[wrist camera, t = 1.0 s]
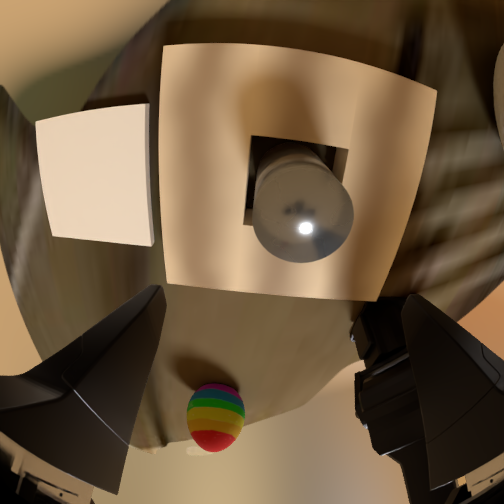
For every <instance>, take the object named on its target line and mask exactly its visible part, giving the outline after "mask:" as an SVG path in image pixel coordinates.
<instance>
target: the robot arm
mask: <svg viewBox="0 0 504 504" xmlns="http://www.w3.org/2000/svg"><path fill="white" fill-rule="evenodd" d="M166 307H167V304H166V299H165V294H164V289H163V287H162V286H161V285H155V284H151V285H149V286H148V287H146V288H145V289H144V290H142V291H141V292H139V293H138V294H137V295H135V296H134V297H132V298H131V299H130V300H128V301H127V302H125V303H124V304H123V305H121V306H120V307H119V308H117V309H116V310H114V311H113V312H112V313H110V314H109V315H108V316H106V317H105V318H104V319H102V320H101V321H99V322H98V323H97V324H95V325H94V326H93V327H91V328H90V329H89V330H87V331H86V332H85V333H83V334H82V336H79V337H78V338H77V339H75V340H74V341H73V342H71V343H70V344H69V345H67V346H66V347H64V348H63V349H62V350H60V351H59V352H57V353H56V354H54V355H53V356H51V357H49V358H48V359H46V360H45V361H43V362H42V363H40V364H39V365H37V366H35V367H34V368H32V369H31V370H29V371H27V372H25V373H23V374H20V375H15V376H0V504H95V503H94V502H93V500H92V498H91V496H92V492H93V488H94V486H95V487H97V488H100V489H102V490H105V491H107V492H110V493H112V494H115V495H117V494H118V491H119V486H120V482H121V477H122V473H123V468H124V464H125V460H126V456H127V452H128V448H129V446H128V445H129V443H130V439H131V435H132V432H133V428H134V424H135V421H136V417H137V413H138V410H139V406H140V403H141V400H142V396H143V393H144V389H145V386H146V383H147V380H148V376H149V373H150V370H151V367H152V364H153V361H154V357H155V354H156V351H157V348H158V345H159V340H160V336H161V331H162V326H163V322H164V317H165V313H166ZM350 340H351V341H353V342H355V344H356V348H357V351H358V355H359V358H360V359H361V360H364V363H365V367H366V369H365V370H363V371H361V372H360V371H359V372H357V373H355V381H354V384H355V410H356V412H355V415H356V417H357V418H358V419H360V421H361V423H362V424H363V426H364V427H365V428H366V429H368V430H369V433H370V438H371V443H372V447H373V449H374V450H375V451H376V452H377V453H378V454H379V455H381V456H382V455H385V454H386V455H388V456H389V457H390V458H392V459H393V460H394V461H396V462H397V463H399V464H400V466H401V469H402V472H403V476H404V481H405V485H406V489H407V493H408V498H409V503H410V504H504V360H502V359H501V358H500V357H498V356H497V355H496V354H495V353H493V352H492V351H491V350H490V349H489V348H487V347H486V346H485V345H484V344H483V343H481V342H480V341H479V340H478V339H476V338H475V337H474V336H472V335H471V334H470V333H469V332H468V331H467V330H465V329H464V328H463V327H462V326H460V325H459V324H458V323H456V322H455V321H454V320H453V319H451V318H450V317H449V316H447V315H446V314H445V313H444V312H442V311H441V310H440V309H438V308H437V307H436V306H434V305H433V304H432V303H430V302H429V301H428V300H426V299H425V298H424V297H422V296H421V295H419V294H411V295H409V296H408V298H390V297H378V298H377V300H376V301H372V302H371V301H366V303H365V305H364V308H363V310H362V312H361V314H360V315H359V317H358V319H357V321H356V323H355V325H354V327H353V330H352V333H351V335H350ZM464 475H465V478H466V483H465V484H463V485H461V486H459V485H458V480H457V479H458V478H460V477H462V476H464Z"/></svg>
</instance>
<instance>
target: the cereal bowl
mask: <svg viewBox="0 0 504 504" xmlns="http://www.w3.org/2000/svg"><path fill="white" fill-rule="evenodd" d="M494 70H495V71H494V82H493V88H494V91H493V94H494V95H493V96H494V110H495V116H496V122H497V128H498V132H499V136H500V139H501V144H502V146H503V150H504V44H503V46H502V47H501V50H500V51H499V54H498V56H497V60H496V64H495V69H494Z"/></svg>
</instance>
